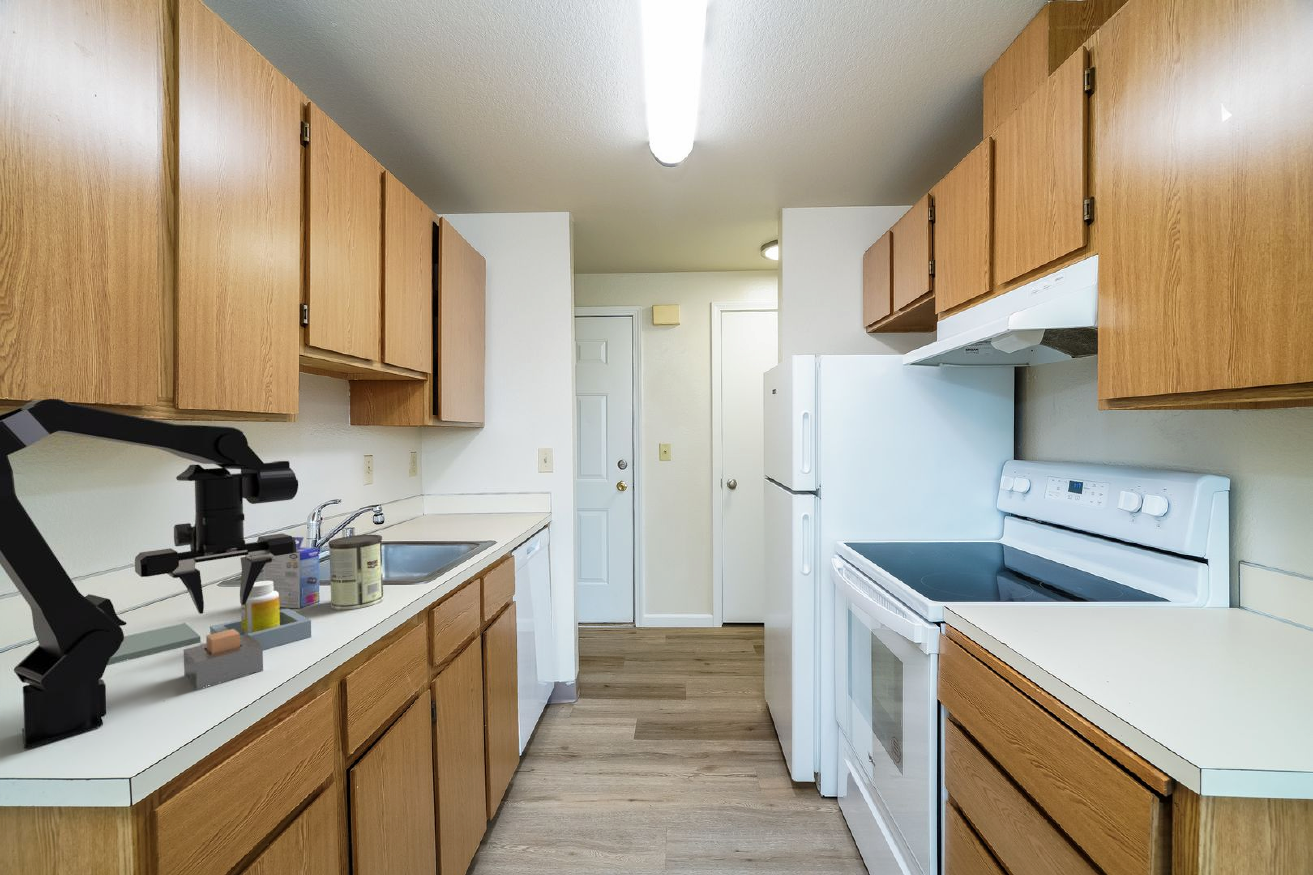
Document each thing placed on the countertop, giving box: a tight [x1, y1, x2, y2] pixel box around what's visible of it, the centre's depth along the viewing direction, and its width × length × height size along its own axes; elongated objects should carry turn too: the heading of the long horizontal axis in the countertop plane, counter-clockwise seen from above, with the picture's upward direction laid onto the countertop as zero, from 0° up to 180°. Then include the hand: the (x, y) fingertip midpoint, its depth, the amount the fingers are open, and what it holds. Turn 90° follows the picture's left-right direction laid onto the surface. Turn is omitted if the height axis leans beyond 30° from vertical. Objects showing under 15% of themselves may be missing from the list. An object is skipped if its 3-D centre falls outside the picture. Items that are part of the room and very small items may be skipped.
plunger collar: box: [183, 634, 264, 690], centre depth 83 cm, size 8×8×4 cm
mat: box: [108, 622, 202, 665], centre depth 96 cm, size 12×12×1 cm
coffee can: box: [328, 534, 384, 611], centre depth 118 cm, size 10×10×14 cm
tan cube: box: [205, 629, 240, 655], centre depth 83 cm, size 3×3×3 cm
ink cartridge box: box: [262, 536, 320, 609], centre depth 118 cm, size 10×6×14 cm, turn 78°
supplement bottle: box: [240, 580, 280, 635], centre depth 97 cm, size 6×6×10 cm
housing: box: [209, 607, 312, 651], centre depth 97 cm, size 12×12×3 cm
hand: (222, 608), depth 83 cm, fingers open, 5 cm apart
